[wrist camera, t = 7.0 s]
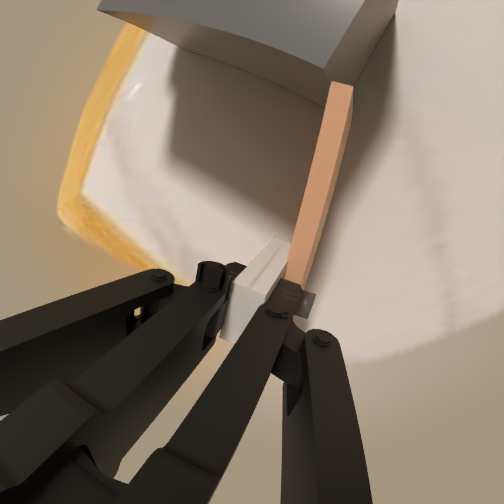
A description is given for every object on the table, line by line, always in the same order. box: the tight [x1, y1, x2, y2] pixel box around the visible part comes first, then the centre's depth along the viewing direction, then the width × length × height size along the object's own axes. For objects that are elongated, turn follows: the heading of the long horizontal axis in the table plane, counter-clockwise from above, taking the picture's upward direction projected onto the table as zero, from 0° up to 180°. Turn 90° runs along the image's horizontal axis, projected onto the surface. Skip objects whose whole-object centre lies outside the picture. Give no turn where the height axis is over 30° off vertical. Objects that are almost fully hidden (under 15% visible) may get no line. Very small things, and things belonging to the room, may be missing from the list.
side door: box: [282, 81, 353, 319], centre depth 18 cm, size 15×2×10 cm, turn 168°
